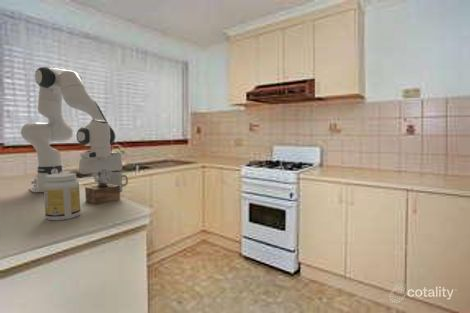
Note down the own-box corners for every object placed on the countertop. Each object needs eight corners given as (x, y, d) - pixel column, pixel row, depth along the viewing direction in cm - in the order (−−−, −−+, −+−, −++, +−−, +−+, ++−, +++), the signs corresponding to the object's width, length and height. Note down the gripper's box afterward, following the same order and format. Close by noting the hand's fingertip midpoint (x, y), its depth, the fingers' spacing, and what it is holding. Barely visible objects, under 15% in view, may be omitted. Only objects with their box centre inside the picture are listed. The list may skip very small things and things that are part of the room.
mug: (108, 194, 156) (107, 174, 156) (104, 191, 163) (103, 172, 162) (130, 191, 164) (129, 172, 163) (125, 189, 171) (125, 170, 170)
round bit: (96, 191, 141) (95, 169, 141) (104, 190, 145) (103, 168, 144) (101, 192, 139) (100, 169, 138) (109, 191, 142) (108, 169, 141)
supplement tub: (73, 210, 124) (71, 171, 122) (86, 216, 116) (84, 174, 115) (40, 217, 114) (37, 175, 113) (52, 223, 107) (49, 178, 105)
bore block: (85, 201, 141) (85, 187, 140) (109, 196, 150) (108, 183, 150) (96, 204, 135) (95, 189, 134) (120, 199, 144) (119, 185, 144)
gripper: (117, 151, 151) (118, 177, 152) (76, 154, 134) (78, 183, 135) (124, 152, 147) (125, 178, 148) (83, 154, 130) (84, 184, 132)
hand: (102, 181), depth 141 cm, fingers closed on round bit, 4 cm apart
